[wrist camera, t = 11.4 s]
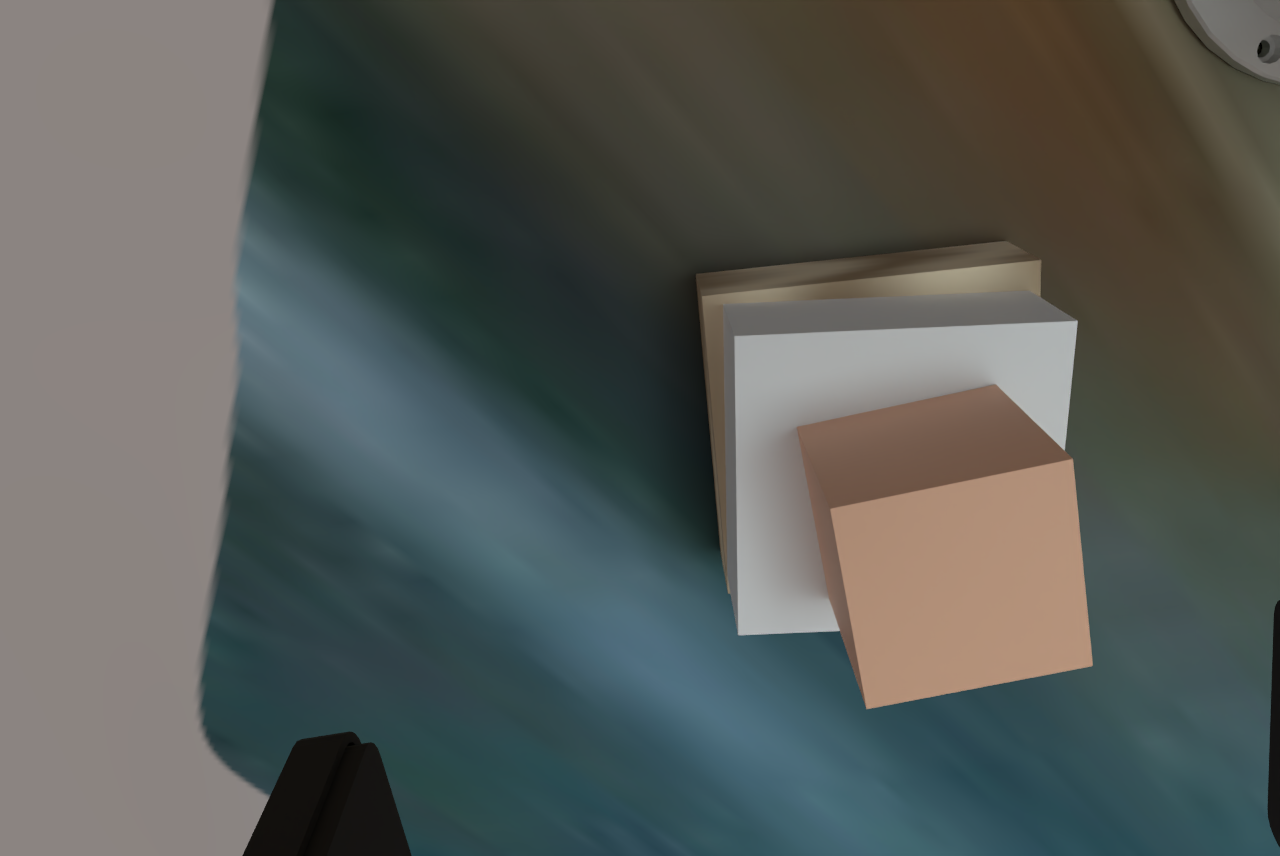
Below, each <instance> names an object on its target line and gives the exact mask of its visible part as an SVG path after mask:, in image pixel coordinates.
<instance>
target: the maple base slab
mask: <svg viewBox="0 0 1280 856" xmlns="http://www.w3.org/2000/svg"><path fill="white" fill-rule="evenodd" d="M696 284H697V295H698V306H699V317H700V328H701V339H702V351H703V362H704V373H705V384H706V395H707V407H708V418H709V429H710V440H711V451H712V462H713V474H714V485H715V496H716V507H717V518H718V529H719V541H720V551H721V557H722V562H723V568H724V573H725V579H726V585H727V590H728V593H730V589H729V583H728V578H727V527H726V465H725V404H724V342H723V304H733V303H756V302H779V301H801V300H824V299H847V298H870V297H892V296H915V295H938V294H961V293H983V292H1006V291H1031V292H1033V293H1034V294H1036V295H1037V296H1039V297H1040V290H1041V260H1040V259H1039V258H1037V257H1035V256H1033V255H1031V254H1029V253H1028V252H1026V251H1024V250H1022V249H1020V248H1018V247H1017V246H1015V245H1013V244H1011V243H1009V242H1008V241H1001V242H991V243H982V244H973V245H963V246H954V247H945V248H935V249H926V250H916V251H907V252H898V253H888V254H879V255H869V256H860V257H851V258H841V259H832V260H823V261H813V262H804V263H794V264H785V265H776V266H766V267H757V268H748V269H738V270H729V271H719V272H710V273H701V274H696Z"/></svg>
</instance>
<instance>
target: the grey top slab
mask: <svg viewBox="0 0 1280 856" xmlns="http://www.w3.org/2000/svg"><path fill="white" fill-rule="evenodd" d="M1077 323H1078V321H1077V320H1075V319H1074V318H1072V317H1071V316H1069V315H1067V314H1066V313H1064V312H1063V311H1061V310H1060V309H1058V308H1056V307H1055V306H1053V305H1052V304H1050V303H1048V302H1047V301H1045V300H1044V299H1042V298H1041V297H1039V296H1037V295H1036V294H1034V293H1033V292H1031V291H1006V292H983V293H961V294H938V295H915V296H892V297H870V298H847V299H824V300H801V301H779V302H756V303H733V304H723V342H724V404H725V465H726V527H727V578H728V583H729V589H730V594H731V599H732V605H733V610H734V615H735V621H736V626H737V631H738V635H756V634H779V633H802V632H825V631H840V629H839V626H838V624H837V621H836V618H835V615H834V612H833V609H832V606H831V603H830V600H829V596H828V590H827V585H826V580H825V574H824V569H823V564H822V558H821V553H820V548H819V543H818V537H817V532H816V527H815V521H814V516H813V511H812V505H811V500H810V495H809V489H808V484H807V479H806V473H805V468H804V463H803V457H802V452H801V447H800V442H799V436H798V431H797V427H799V426H803V425H808V424H813V423H817V422H822V421H827V420H831V419H836V418H840V417H845V416H850V415H854V414H859V413H864V412H868V411H873V410H878V409H882V408H887V407H892V406H897V405H901V404H906V403H911V402H915V401H920V400H925V399H930V398H934V397H939V396H944V395H948V394H953V393H958V392H963V391H967V390H972V389H977V388H982V387H986V386H991V385H997V386H998V387H999V388H1000V389H1001V390H1002V391H1003V392H1004V393H1005V394H1006V395H1007V396H1008V397H1009V398H1010V399H1012V400H1013V401H1014V402H1015V403H1016V404H1017V405H1018V406H1019V407H1020V408H1021V409H1022V410H1023V411H1024V412H1025V413H1026V414H1027V415H1028V416H1029V417H1030V418H1031V419H1032V420H1033V421H1034V422H1035V423H1036V424H1037V425H1038V426H1039V427H1040V428H1041V429H1043V430H1044V431H1045V432H1046V433H1047V434H1048V435H1049V436H1050V437H1051V438H1052V439H1053V440H1054V441H1055V442H1056V443H1057V444H1058V445H1059V446H1060V447H1061V448H1062V449H1063V450H1064V451H1065V442H1066V432H1067V422H1068V412H1069V402H1070V392H1071V382H1072V373H1073V363H1074V353H1075V343H1076V333H1077Z"/></svg>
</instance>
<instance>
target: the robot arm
mask: <svg viewBox="0 0 1280 856" xmlns="http://www.w3.org/2000/svg"><path fill="white" fill-rule="evenodd" d="M1174 1H1175V3H1176V5H1177V6H1178V8H1179V10H1180V12H1181V14H1182V16H1183V18H1184V20H1185V22H1186V23H1187V24H1188V25H1189V26H1190V28H1191V29H1192V30H1193V31H1194V32H1195V34H1196V35H1197V36H1198V37H1199V38H1200V40H1201V41H1202V42H1203V43H1204V44H1205V46H1206V47H1207V48H1208V49H1210V50H1211V51H1212V52H1214V53H1215V54H1216V55H1218V56H1219V57H1220V58H1222V59H1223V60H1224V61H1226V62H1227V63H1228V64H1230V65H1231V66H1232V67H1234V68H1235V69H1238V70H1240V71H1242V72H1244V73H1247V74H1249V75H1251V76H1253V77H1256V78H1258V79H1260V80H1262V81H1265V82H1269V83H1274V84H1279V85H1280V0H1174ZM1260 42H1261V43H1262V47H1263V48H1262V51H1261V53H1260V54H1259V55H1258V54H1257V49H1258V46H1259V43H1260ZM1268 818H1269V823H1270V827H1271V830H1272V832H1273V835H1274V837H1275V839H1276V841H1277V843H1278V845H1279V847H1280V600H1279V601H1278V602H1277V604H1276V606H1275V611H1274V629H1273V660H1272V691H1271V722H1270V753H1269V783H1268ZM243 856H411V853H410V849H409V846H408V843H407V840H406V836H405V833H404V830H403V827H402V824H401V820H400V817H399V814H398V811H397V808H396V804H395V801H394V798H393V795H392V791H391V788H390V785H389V782H388V779H387V775H386V772H385V769H384V766H383V762H382V759H381V756H380V753H379V751H378V748H377V747H376V745H375V744H374V743H364V744H361V742H360V740H359V738H358V737H357V735H356V734H355V733H353V732H344V733H338V734H332V735H326V736H319V737H313V738H307V739H301V740H299V741H297V742H296V744H295V745H294V747H293V748H292V750H291V753H290V755H289V757H288V759H287V761H286V763H285V765H284V768H283V770H282V772H281V774H280V776H279V778H278V781H277V783H276V785H275V787H274V789H273V791H272V793H271V796H270V798H269V800H268V802H267V804H266V806H265V808H264V811H263V813H262V815H261V817H260V819H259V822H258V824H257V826H256V828H255V830H254V832H253V834H252V837H251V839H250V841H249V843H248V845H247V847H246V849H245V851H244V854H243Z"/></svg>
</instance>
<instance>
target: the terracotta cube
mask: <svg viewBox="0 0 1280 856" xmlns="http://www.w3.org/2000/svg"><path fill="white" fill-rule="evenodd" d="M797 431H798V436H799V442H800V447H801V452H802V457H803V463H804V468H805V473H806V479H807V484H808V489H809V495H810V500H811V505H812V511H813V516H814V521H815V527H816V532H817V537H818V543H819V548H820V553H821V558H822V564H823V569H824V574H825V580H826V585H827V590H828V596H829V600H830V603H831V606H832V609H833V612H834V615H835V618H836V621H837V624H838V626H839V629H840V632H841V635H842V638H843V641H844V644H845V647H846V650H847V653H848V656H849V659H850V662H851V665H852V668H853V671H854V673H855V676H856V679H857V682H858V685H859V688H860V691H861V694H862V697H863V700H864V703H865V706H866V709H870V708H875V707H880V706H886V705H891V704H896V703H901V702H907V701H912V700H917V699H922V698H927V697H933V696H938V695H943V694H948V693H954V692H959V691H964V690H969V689H975V688H980V687H985V686H990V685H996V684H1001V683H1006V682H1011V681H1016V680H1022V679H1027V678H1032V677H1037V676H1043V675H1048V674H1053V673H1058V672H1064V671H1069V670H1074V669H1079V668H1085V667H1090V666H1093V663H1092V653H1091V642H1090V632H1089V621H1088V611H1087V600H1086V590H1085V580H1084V569H1083V559H1082V548H1081V538H1080V528H1079V517H1078V507H1077V496H1076V486H1075V476H1074V465H1073V459H1072V458H1071V457H1070V456H1069V455H1068V454H1067V453H1066V452H1065V451H1064V450H1063V449H1062V448H1061V447H1060V446H1059V445H1058V444H1057V443H1056V442H1055V441H1054V440H1053V439H1052V438H1051V437H1050V436H1049V435H1048V434H1047V433H1046V432H1045V431H1044V430H1043V429H1041V428H1040V427H1039V426H1038V425H1037V424H1036V423H1035V422H1034V421H1033V420H1032V419H1031V418H1030V417H1029V416H1028V415H1027V414H1026V413H1025V412H1024V411H1023V410H1022V409H1021V408H1020V407H1019V406H1018V405H1017V404H1016V403H1015V402H1014V401H1013V400H1012V399H1010V398H1009V397H1008V396H1007V395H1006V394H1005V393H1004V392H1003V391H1002V390H1001V389H1000V388H999V387H998V386H997V385H991V386H986V387H982V388H977V389H972V390H967V391H963V392H958V393H953V394H948V395H944V396H939V397H934V398H930V399H925V400H920V401H915V402H911V403H906V404H901V405H897V406H892V407H887V408H882V409H878V410H873V411H868V412H864V413H859V414H854V415H850V416H845V417H840V418H836V419H831V420H827V421H822V422H817V423H813V424H808V425H803V426H799V427H797Z"/></svg>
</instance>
